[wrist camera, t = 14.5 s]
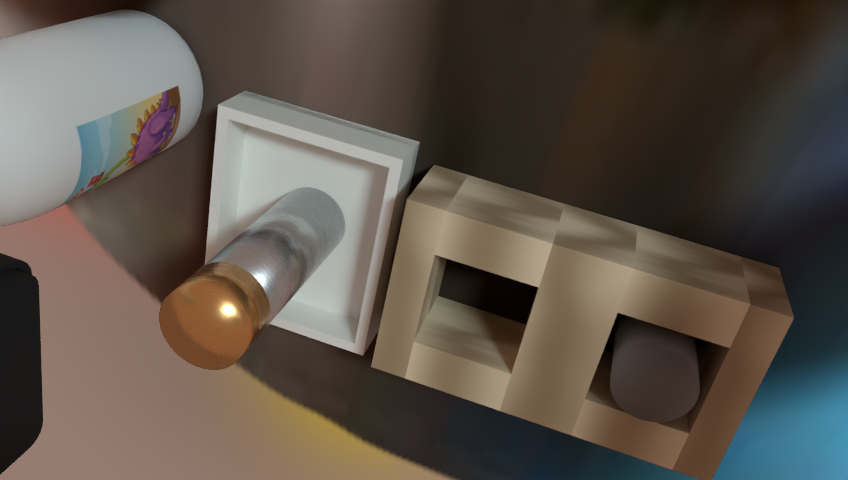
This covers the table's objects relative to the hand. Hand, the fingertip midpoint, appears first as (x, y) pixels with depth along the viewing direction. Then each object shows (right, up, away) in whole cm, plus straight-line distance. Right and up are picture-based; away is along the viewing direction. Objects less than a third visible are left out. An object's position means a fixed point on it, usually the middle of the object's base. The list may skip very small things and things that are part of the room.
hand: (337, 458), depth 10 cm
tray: (-5, +4, +34) cm, 35 cm away
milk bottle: (-14, +12, +34) cm, 38 cm away
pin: (-5, +4, +33) cm, 34 cm away
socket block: (+9, 0, +32) cm, 33 cm away
